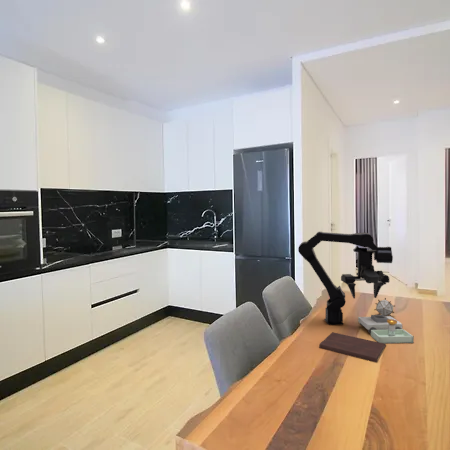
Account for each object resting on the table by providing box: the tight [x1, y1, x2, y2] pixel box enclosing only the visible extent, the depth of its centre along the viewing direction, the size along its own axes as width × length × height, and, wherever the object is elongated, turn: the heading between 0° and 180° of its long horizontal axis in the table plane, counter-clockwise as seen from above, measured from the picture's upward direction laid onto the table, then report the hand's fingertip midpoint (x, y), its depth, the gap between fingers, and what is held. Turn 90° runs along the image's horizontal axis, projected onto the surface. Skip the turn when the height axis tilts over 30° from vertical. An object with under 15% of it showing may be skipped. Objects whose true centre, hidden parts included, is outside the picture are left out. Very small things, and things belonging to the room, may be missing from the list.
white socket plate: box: [357, 314, 403, 335], centre depth 135 cm, size 14×10×6 cm
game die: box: [373, 297, 396, 317], centre depth 151 cm, size 9×8×10 cm
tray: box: [370, 328, 415, 344], centre depth 126 cm, size 13×7×2 cm, turn 91°
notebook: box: [318, 331, 387, 363], centre depth 120 cm, size 15×20×2 cm
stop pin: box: [387, 319, 398, 336], centre depth 126 cm, size 3×3×7 cm
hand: (364, 297), depth 140 cm, fingers open, 9 cm apart
